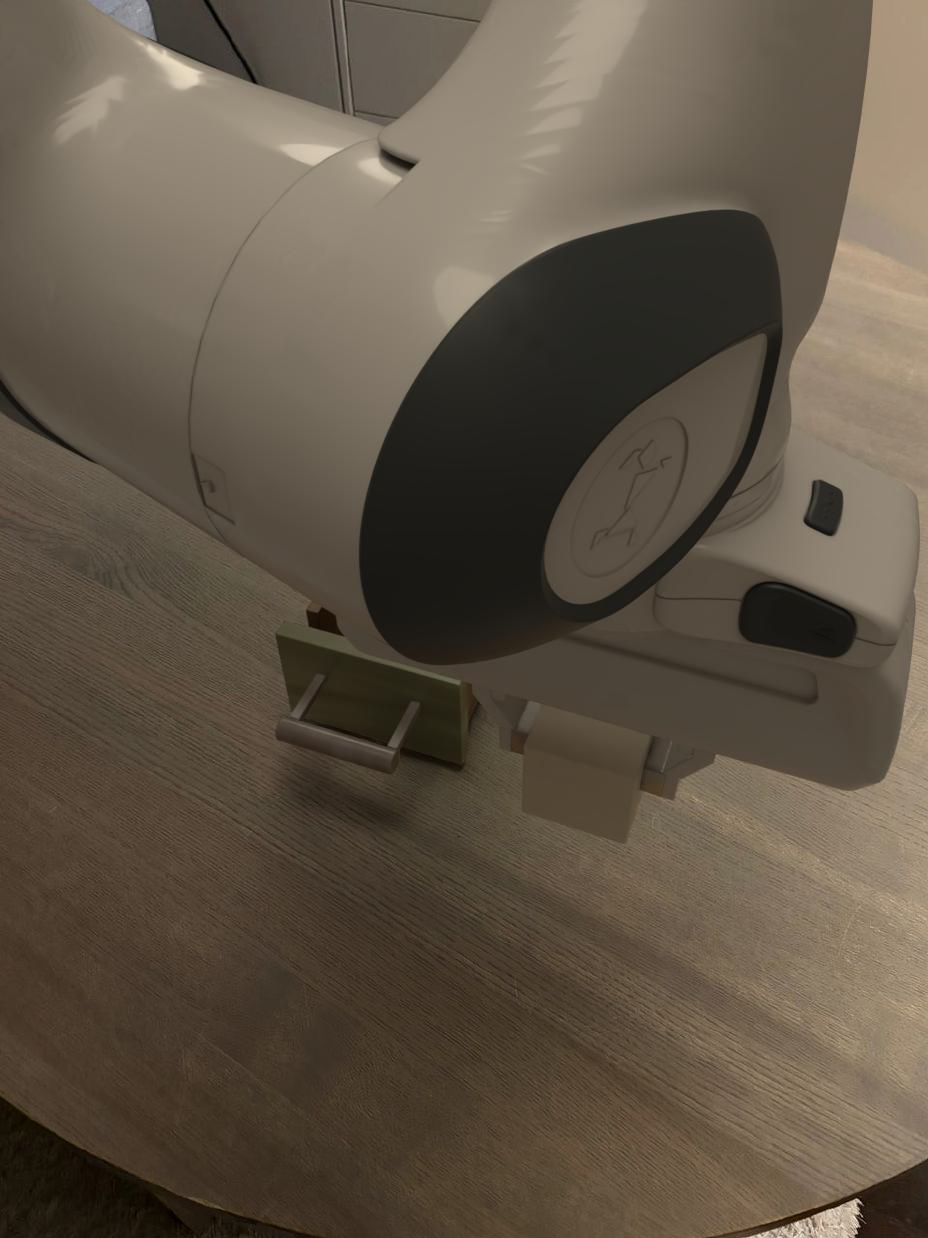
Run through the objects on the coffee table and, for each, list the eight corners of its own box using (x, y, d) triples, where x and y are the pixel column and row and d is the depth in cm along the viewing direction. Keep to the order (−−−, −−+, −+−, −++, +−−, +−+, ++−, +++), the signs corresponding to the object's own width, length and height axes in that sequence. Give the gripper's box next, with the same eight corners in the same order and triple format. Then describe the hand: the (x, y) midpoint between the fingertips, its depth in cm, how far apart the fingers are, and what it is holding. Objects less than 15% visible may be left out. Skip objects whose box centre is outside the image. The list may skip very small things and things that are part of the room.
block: (625, 845, 41) (636, 780, 38) (520, 812, 43) (523, 747, 39) (653, 761, 44) (665, 694, 41) (553, 732, 45) (558, 664, 42)
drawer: (431, 831, 59) (425, 753, 54) (253, 774, 62) (231, 695, 57) (532, 613, 71) (536, 532, 66) (379, 574, 74) (371, 493, 69)
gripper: (276, 481, 33) (325, 747, 43) (962, 648, 28) (836, 909, 37) (361, 376, 37) (388, 642, 47) (973, 504, 32) (857, 774, 42)
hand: (591, 762), depth 42 cm, fingers closed on block, 4 cm apart
